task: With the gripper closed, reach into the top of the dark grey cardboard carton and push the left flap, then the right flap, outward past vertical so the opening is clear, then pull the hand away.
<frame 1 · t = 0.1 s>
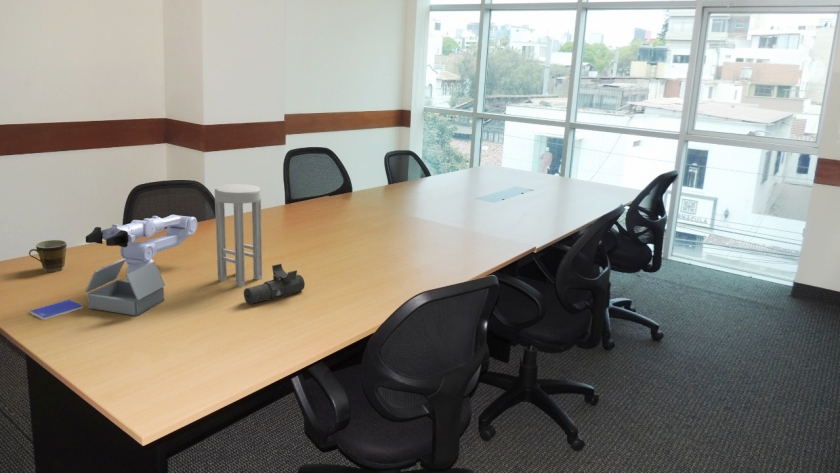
hand: (96, 241, 208), 22 cm above the table, tool horizontal, fingers open, 7 cm apart
laser sight: (276, 297, 228), on the table
carton: (127, 304, 215), on the table
flap 1: (106, 274, 214), point 9 cm above the table, hinge at 60.0°
ceramic cup: (50, 270, 242), on the table
flap 2: (146, 280, 210), point 10 cm above the table, hinge at 66.0°
stool: (240, 279, 243), on the table
hard drive: (56, 312, 207), on the table
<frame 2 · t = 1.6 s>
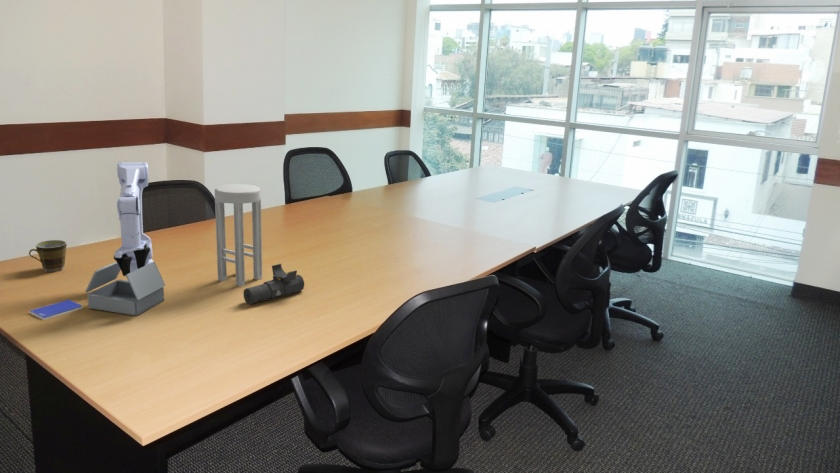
hand: (133, 272, 214), 10 cm above the table, tool pointing down, fingers open, 7 cm apart
nothing on the table moved.
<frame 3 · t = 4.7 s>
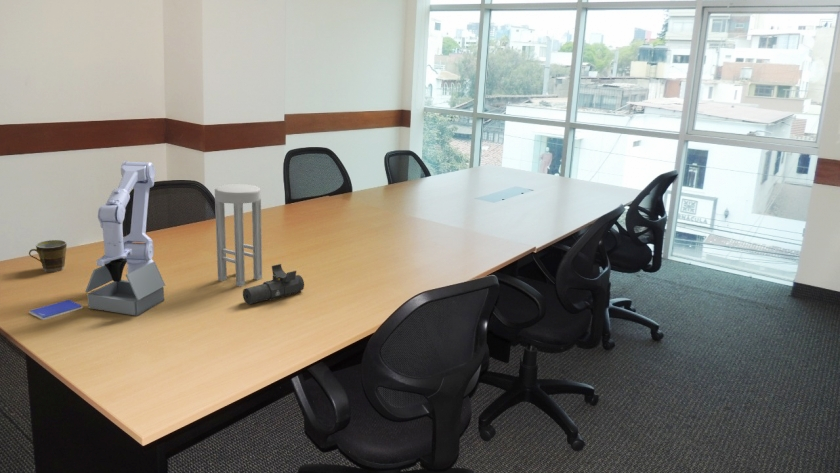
hand: (116, 281, 213), 8 cm above the table, tool pointing down, fingers closed, pressing on flap 1
flap 1: (105, 274, 214), point 9 cm above the table, hinge at 63.7°, touching gripper
everything else where it was.
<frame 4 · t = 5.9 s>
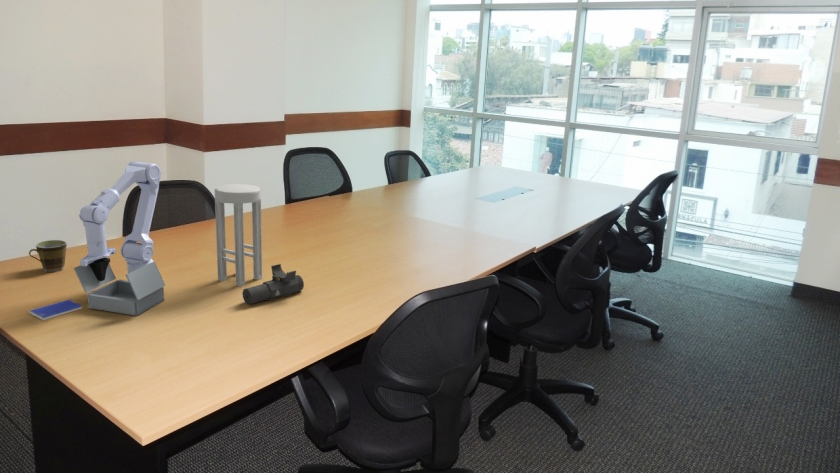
hand: (100, 280, 215), 7 cm above the table, tool pointing down, fingers closed, pressing on flap 1
flap 1: (95, 273, 214), point 9 cm above the table, hinge at 114.5°, touching gripper
everything else where it was.
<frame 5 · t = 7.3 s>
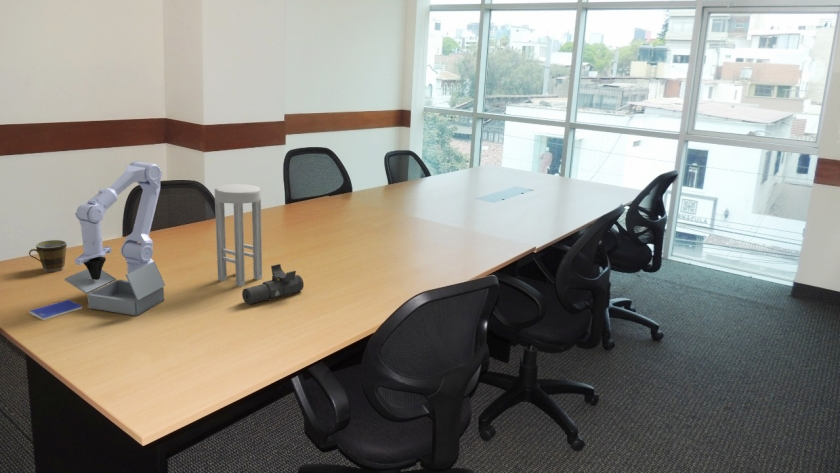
hand: (95, 278, 215), 7 cm above the table, tool pointing down, fingers closed
flap 1: (90, 279, 216), point 7 cm above the table, hinge at 154.5°
everything else where it was.
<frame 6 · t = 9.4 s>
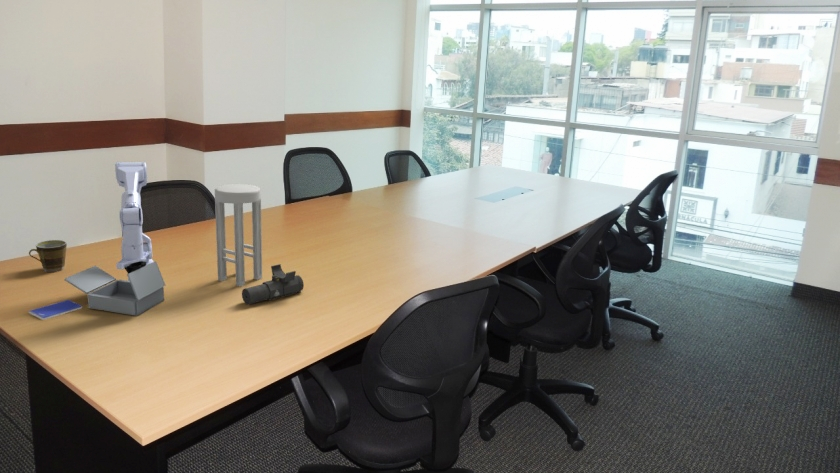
hand: (136, 284, 211), 8 cm above the table, tool pointing down, fingers closed, pressing on flap 2
flap 2: (146, 280, 210), point 10 cm above the table, hinge at 69.9°, touching gripper
everything else where it was.
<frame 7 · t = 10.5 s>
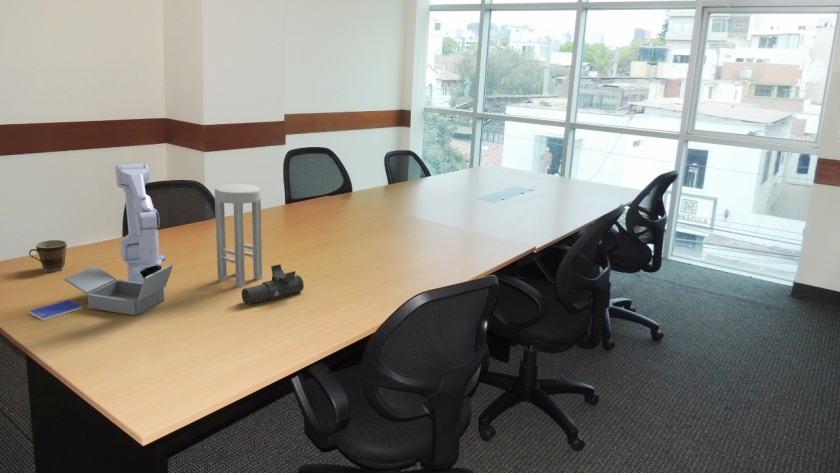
hand: (151, 287, 211), 7 cm above the table, tool pointing down, fingers closed, pressing on flap 2
flap 2: (155, 282, 210), point 9 cm above the table, hinge at 112.6°, touching gripper
everything else where it was.
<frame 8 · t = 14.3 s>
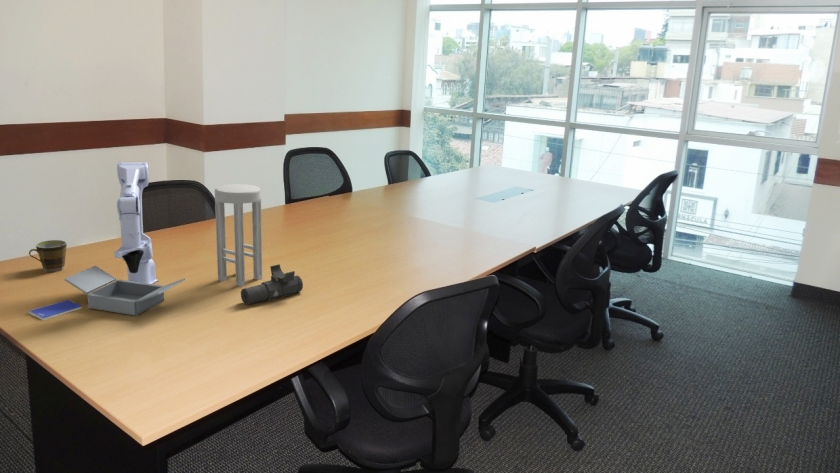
hand: (133, 272, 214), 10 cm above the table, tool pointing down, fingers closed
flap 2: (161, 289, 210), point 7 cm above the table, hinge at 154.6°
everything else where it was.
at the end: flap 1 at +155° (first picture: +60°); flap 2 at +155° (first picture: +66°) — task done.
